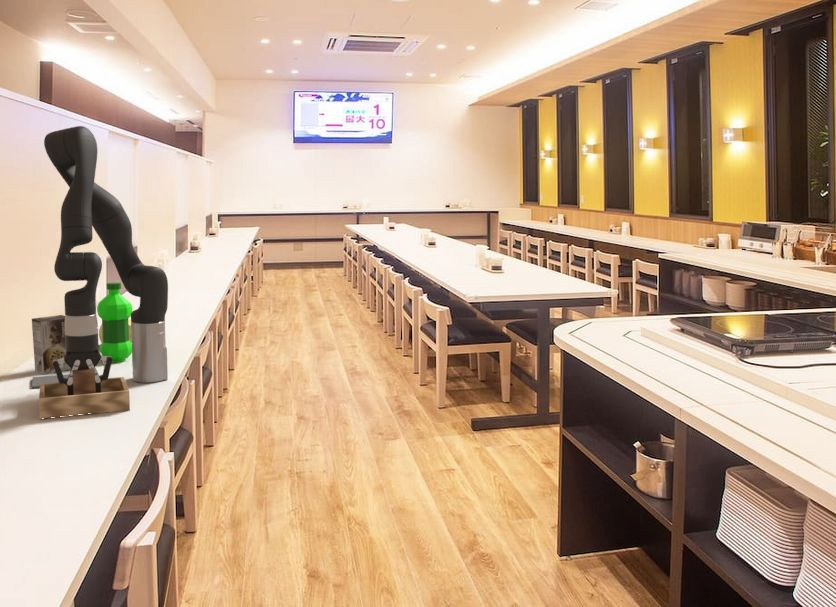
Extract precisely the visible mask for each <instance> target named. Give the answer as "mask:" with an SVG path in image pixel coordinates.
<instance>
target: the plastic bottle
mask: <svg viewBox="0 0 836 607" xmlns="http://www.w3.org/2000/svg"><path fill="white" fill-rule="evenodd" d="M121 289H122V283H121V282H107V283H106V290H107V291H108V294H107V295H106V296H104V297H103V298H102V299H101V300H100V301H99V302H98V303H97V305H96V313H97V316H99V318H100V319H101V324H102V334H103V341H102V343H101V342H100V344H99V345H100V346H99V353H100V354H101V355H103V356H108V355H110V356H111V357H112V363H119V362H125V361H126V359H128V358H129V357H130V356H132V343H131V342H130V341H129V323H128V319H130V318H131V313H132V311H133V306H132V303H131V302H130V301H129V300H128V299H127V298H125V297H124V296H123V295H122V294H120V290H121Z"/></svg>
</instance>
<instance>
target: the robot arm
mask: <svg viewBox="0 0 836 607" xmlns="http://www.w3.org/2000/svg"><path fill="white" fill-rule="evenodd" d="M43 142H44V143H43V144H44V149H45V152H46V155H47V157H48V158H49V160H50V162H51V163H52V165H53V166H54V167H55V169H56V171H57V172H58V174H60V177H61V178H62V179H63V180H64V182H65V183H66V184H67V186H68V187H69V189H68V191H67V193H66V195H65V197H64V200H63V201H62V204H61V207H60V231H61V234H60V237H61V238H60V243H59V247H58V251H57V255H56V258H55V262H54V274H55V275H56V277H57V278H58V279H59V280H60V281H63V282H70V281H71V282H72V281H73V282H77V281H78V282H81V281H86V284H85V285H84V286H83V287H80V288H77V289H76V288H75V289H72V290H69V291H66V293H64V296H63V297H64V299H63V300H64V316H65V329H64V331H65V345H66V354H65V356H64V358H61V359H58V360H57V359H54V360H53V366H54V369H55V372H54V373H55V374H56V375H57V378H58V381H59V383H60V384H66V385H67V390H68V396H70V395H74V392H73V371H75V370H80V369H95V388H96V393H101V382H102V381H103V380H107V379H108V378H109V376H110V373H111V372H110V371H111V368H112V363H113V362H112V357H111V356H110V355H108V356H103V355H102V354H101V352H100V346H99V345H100V344H99V326H98V325H99V324H98V317H97V304H96V303H97V302H96V299H97V298H96V297H97V288H98V284H99V280H100V276H101V273H102V269H103V262H102V259H101V257H100V255H98V253H96V252H94V251H93V252H92V251H86V252H85V251H82V252H81V251H80V252H79V251H78V252H77V251H76V252H72V250H73V249H74V248H75V247H78V246H79V247H80V246H83V245H87V244H89V243H91V242H92V240H93V236H94V235H93V229H94V231H95V233H96V234H97V236H98V237H99V239H100V241H101V242H102V244H103V246H104V248H105V250H106V252H107V253H108V254H109V257H110V258H111V260H112V262H113V264H114V266H115V269H116V271H117V274H118V275H119V278H120V280H121V282H122V283H121V284H123V287H124V289H125V290H126V291H127V292H128V293H129V294H130V295H131V296H134V297H138V298H139V306H138V308H137V309H134V310H132V313H131V316H130V320H131V338H132V343H131V344H132V353H131V363H132V365H131V366H132V380H133V381H134V382H136V383H156V382H161V381H162V382H163V381H167V380H168V379H169V377H168V372H169V371H168V348H167V346H166V344H167V342H166V320H165V319H166V314H167V311H168V306H169V305H168V302H169V301H168V300H169V282H168V277H167V274H166V272H165V271H164V270H163V269H162V268H161V267H158V266H152V265H145V264H144V263H143V262H142V260H141V259H140V256H138V254H137V252H136V250H135V247H134V245H133V228H132V222H131V220H130V217H129V216H128V214H127V213H126V210H125V209H124V207H123V205H122V203H121V202H120V201H119V199H118V198H117V197H116V196H114V195H113V194H112V193H110V191H108V190H106V189H105V188H103V187H102V186H100V185H99V184H98V183H96V182H95V178H96V170H97V169H96V168H97V162H98V144H97V139H96V137H95V136H94V133H93V132H92V131H91V130H90V128H87V127H86V126H82V125H77V126H72V127H68V128H63V129H59V130H54V131H52V132H49V133H47V134H46V135H45V137H44V140H43ZM100 361H102V364H103V365H104V366H103V372H102V374H99V372H98V371H97V367H96V366H97V365H98V364H99V362H100ZM64 362H66V364H67V365H68V366H69V367H70V368H71V369H70V370H69V373H68V374H69V376H68V378H64V377H63V375H64V374H63V371H61V368H62V367H63V363H64Z"/></svg>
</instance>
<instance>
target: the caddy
mask: <svg viewBox="0 0 836 607" xmlns="http://www.w3.org/2000/svg"><path fill="white" fill-rule="evenodd" d="M38 394H39V395H38V405H39V406H38V407H39V420H40V419H42V418H51V417H60V416H69V415H78V414H88V413H100V414H103V413H102V412H109V413H113V412H112V411H119V412H125V410H129V411H130V410H131V409H130V408H131V406H130V404H131V403H130V401H131V400H130V390H129V387H128V383H127V381H126V378H125V377H124V376H117V377H116V376H115V377H108V379H107V380H103V381H102V382H101V393H92V394H81V395H70V396H68V390H67V385H66V384H60V383H59V382H56V383H44V384H40V388H39V392H38ZM42 420H43V419H42Z"/></svg>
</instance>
